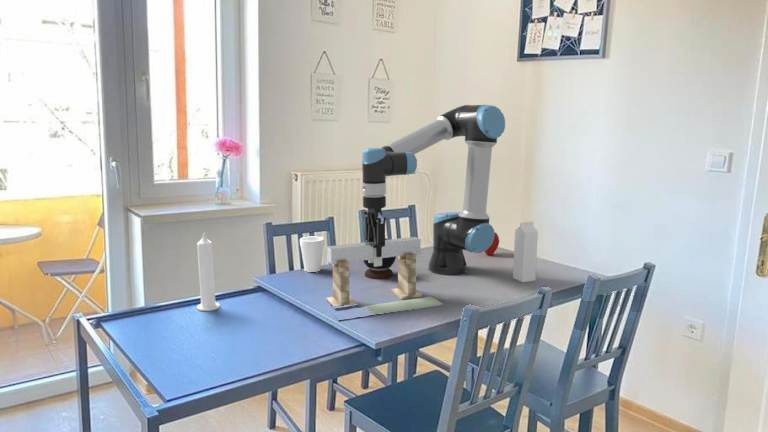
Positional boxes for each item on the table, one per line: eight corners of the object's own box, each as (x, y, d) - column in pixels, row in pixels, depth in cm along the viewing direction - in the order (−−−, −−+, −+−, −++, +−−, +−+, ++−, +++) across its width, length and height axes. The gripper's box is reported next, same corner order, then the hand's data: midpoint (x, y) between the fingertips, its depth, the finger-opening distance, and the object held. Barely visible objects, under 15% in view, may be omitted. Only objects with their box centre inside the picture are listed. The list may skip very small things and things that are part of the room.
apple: (476, 252, 255) (477, 229, 253) (495, 252, 256) (496, 228, 254) (482, 257, 247) (482, 233, 245) (501, 257, 248) (502, 232, 246)
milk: (535, 280, 214) (538, 223, 210) (522, 282, 212) (525, 224, 208) (525, 276, 220) (528, 220, 215) (512, 278, 217) (515, 221, 213)
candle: (199, 304, 189) (195, 230, 184) (221, 303, 190) (217, 229, 185) (194, 311, 182) (189, 235, 177) (217, 311, 183) (212, 234, 178)
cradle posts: (411, 288, 205) (411, 248, 202) (422, 296, 197) (423, 254, 194) (325, 300, 192) (324, 257, 190) (333, 309, 184) (333, 264, 181)
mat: (431, 297, 195) (431, 296, 195) (442, 305, 188) (442, 303, 188) (330, 312, 181) (330, 311, 181) (338, 321, 174) (338, 319, 174)
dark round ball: (367, 281, 213) (367, 242, 211) (358, 272, 226) (357, 234, 223) (401, 278, 218) (401, 239, 215) (389, 269, 230) (389, 232, 227)
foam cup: (320, 274, 222) (319, 242, 220) (297, 273, 224) (296, 241, 222) (327, 267, 231) (326, 236, 229) (305, 266, 233) (304, 235, 231)
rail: (415, 250, 200) (415, 236, 199) (420, 253, 196) (420, 239, 195) (327, 261, 188) (327, 246, 187) (331, 264, 184) (331, 249, 183)
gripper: (354, 192, 194) (355, 259, 199) (373, 200, 179) (374, 272, 183) (375, 191, 197) (375, 256, 202) (395, 198, 182) (395, 269, 186)
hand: (375, 263), depth 192 cm, fingers closed on rail, 4 cm apart
